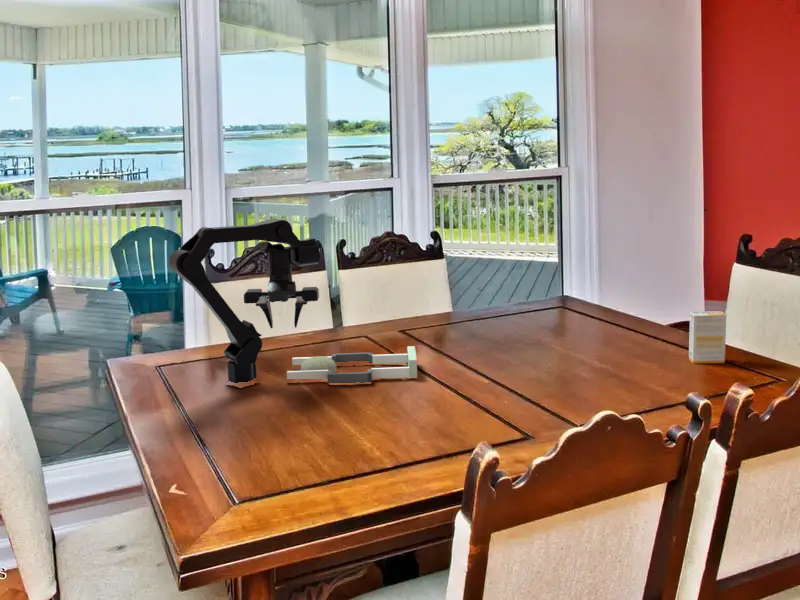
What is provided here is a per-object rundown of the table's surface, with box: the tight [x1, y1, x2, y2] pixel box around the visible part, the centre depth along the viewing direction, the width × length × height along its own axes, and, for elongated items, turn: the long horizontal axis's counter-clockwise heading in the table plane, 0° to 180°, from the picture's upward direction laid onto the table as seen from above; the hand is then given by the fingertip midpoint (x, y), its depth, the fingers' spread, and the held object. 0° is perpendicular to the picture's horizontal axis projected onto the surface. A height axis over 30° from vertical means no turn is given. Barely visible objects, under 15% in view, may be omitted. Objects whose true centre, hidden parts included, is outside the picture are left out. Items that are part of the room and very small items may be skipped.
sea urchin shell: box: [300, 355, 338, 373], centre depth 217 cm, size 9×8×8 cm
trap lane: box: [286, 351, 409, 384], centre depth 217 cm, size 31×20×3 cm, turn 91°
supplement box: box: [688, 310, 727, 364], centre depth 217 cm, size 8×5×13 cm, turn 84°
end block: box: [406, 345, 418, 378], centre depth 217 cm, size 2×14×5 cm, turn 1°
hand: (283, 327), depth 215 cm, fingers open, 6 cm apart
